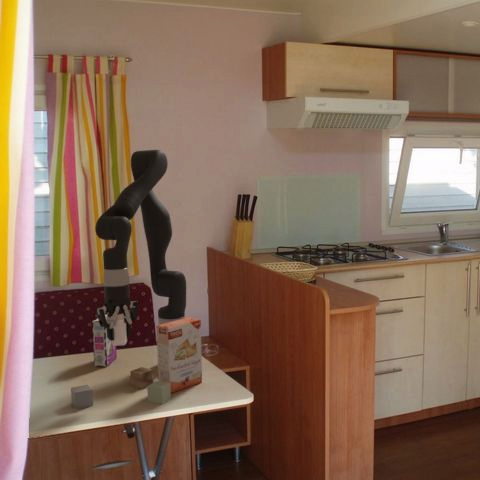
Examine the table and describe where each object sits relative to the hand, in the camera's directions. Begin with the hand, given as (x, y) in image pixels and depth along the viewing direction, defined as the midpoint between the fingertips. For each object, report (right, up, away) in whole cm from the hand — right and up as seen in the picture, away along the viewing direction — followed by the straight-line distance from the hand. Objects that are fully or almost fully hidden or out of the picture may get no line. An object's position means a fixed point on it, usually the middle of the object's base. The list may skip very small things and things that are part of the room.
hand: (119, 337), depth 201 cm
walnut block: (+5, -17, +12) cm, 21 cm away
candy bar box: (-11, -14, +37) cm, 41 cm away
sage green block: (+12, -18, -2) cm, 22 cm away
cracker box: (+18, -17, +10) cm, 27 cm away
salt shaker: (0, -2, 0) cm, 2 cm away
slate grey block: (-10, -19, -4) cm, 22 cm away
